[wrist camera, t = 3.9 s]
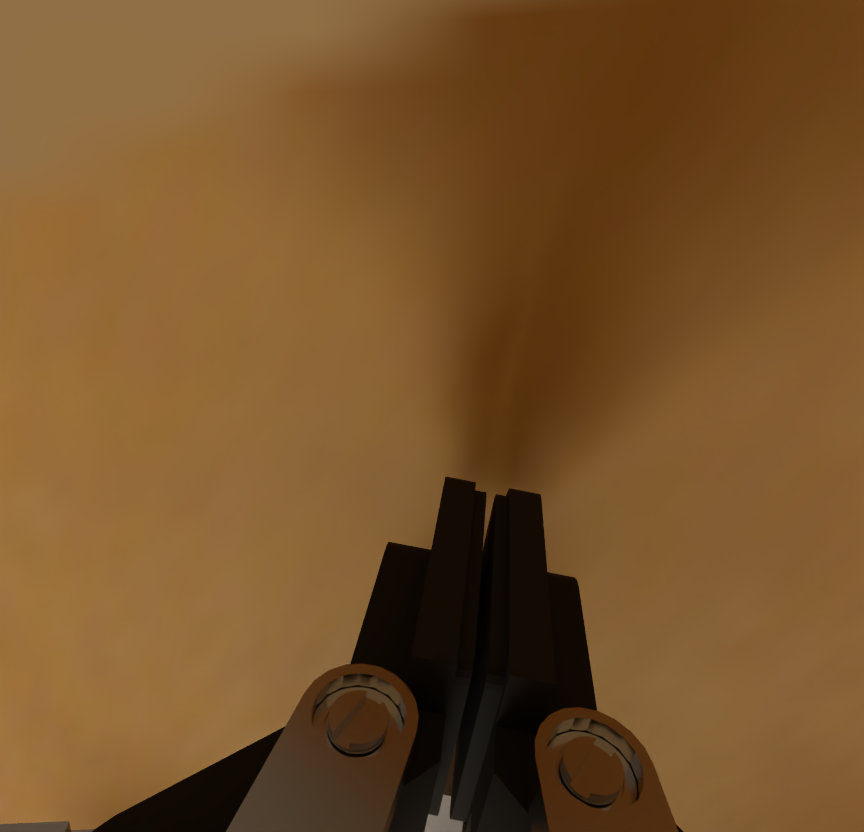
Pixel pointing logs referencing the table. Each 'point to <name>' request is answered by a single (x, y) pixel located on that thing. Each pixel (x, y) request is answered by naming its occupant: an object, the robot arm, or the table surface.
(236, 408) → the table surface
